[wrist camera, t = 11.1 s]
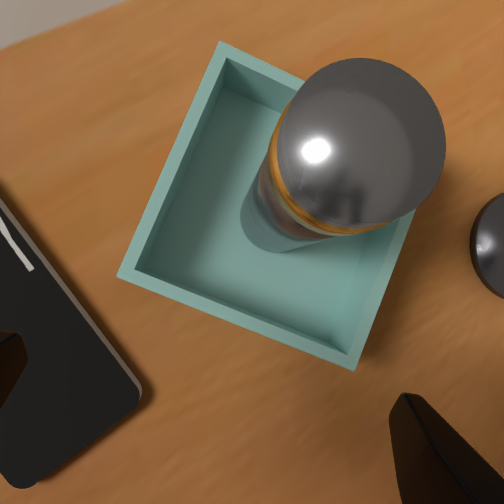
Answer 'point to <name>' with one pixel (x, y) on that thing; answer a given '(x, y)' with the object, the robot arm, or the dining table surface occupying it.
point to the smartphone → (53, 366)
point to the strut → (345, 157)
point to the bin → (233, 237)
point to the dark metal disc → (489, 245)
